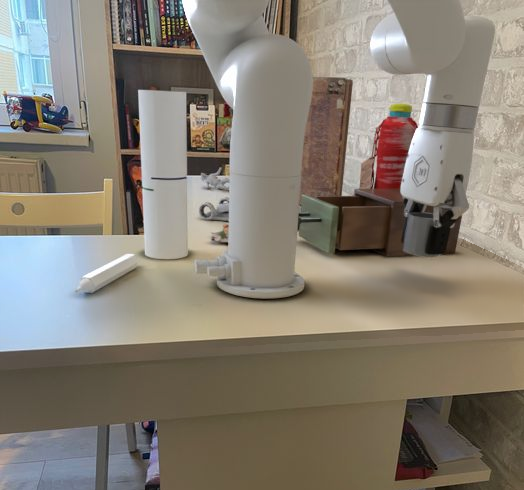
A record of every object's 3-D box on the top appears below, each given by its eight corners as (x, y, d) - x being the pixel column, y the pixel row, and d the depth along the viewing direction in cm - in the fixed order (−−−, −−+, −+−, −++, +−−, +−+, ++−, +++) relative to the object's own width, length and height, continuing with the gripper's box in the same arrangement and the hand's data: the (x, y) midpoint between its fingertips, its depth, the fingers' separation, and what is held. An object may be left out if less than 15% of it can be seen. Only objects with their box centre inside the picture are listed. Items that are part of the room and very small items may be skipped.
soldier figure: (222, 195, 159) (190, 177, 163) (226, 205, 164) (195, 187, 168) (238, 175, 161) (206, 158, 164) (241, 185, 165) (210, 168, 169)
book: (341, 203, 149) (354, 79, 137) (335, 209, 141) (348, 77, 129) (251, 195, 156) (256, 76, 144) (241, 200, 148) (244, 74, 136)
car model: (219, 211, 132) (219, 189, 130) (316, 224, 123) (318, 201, 121) (194, 218, 122) (194, 195, 120) (297, 233, 113) (299, 208, 111)
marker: (75, 304, 72) (130, 270, 86) (87, 298, 71) (141, 265, 85) (64, 286, 71) (121, 255, 86) (76, 280, 71) (132, 249, 85)
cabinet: (386, 256, 99) (394, 201, 95) (348, 238, 112) (354, 188, 108) (455, 253, 104) (465, 200, 100) (411, 235, 116) (418, 188, 112)
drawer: (300, 254, 94) (303, 207, 91) (273, 236, 106) (275, 194, 102) (396, 250, 100) (403, 206, 97) (361, 233, 111) (365, 193, 108)
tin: (415, 257, 81) (423, 219, 79) (395, 247, 86) (401, 211, 84) (448, 257, 83) (456, 220, 81) (426, 247, 88) (433, 212, 86)
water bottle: (347, 226, 123) (360, 101, 112) (356, 220, 129) (369, 102, 119) (402, 232, 118) (421, 104, 108) (409, 226, 125) (427, 104, 115)
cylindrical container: (179, 260, 91) (176, 91, 80) (138, 256, 92) (130, 89, 81) (193, 250, 97) (192, 92, 87) (154, 246, 98) (149, 90, 88)
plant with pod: (266, 248, 101) (272, 129, 93) (205, 243, 102) (205, 126, 94) (271, 238, 108) (277, 127, 100) (214, 234, 109) (215, 124, 101)
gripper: (391, 115, 83) (372, 235, 91) (464, 121, 69) (434, 264, 76) (433, 119, 86) (411, 235, 93) (513, 125, 71) (479, 263, 78)
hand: (422, 247), depth 84 cm, fingers closed on tin, 5 cm apart
